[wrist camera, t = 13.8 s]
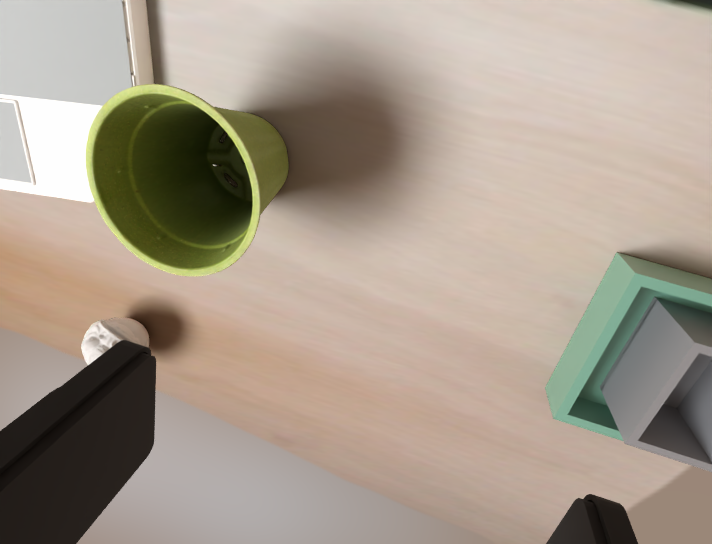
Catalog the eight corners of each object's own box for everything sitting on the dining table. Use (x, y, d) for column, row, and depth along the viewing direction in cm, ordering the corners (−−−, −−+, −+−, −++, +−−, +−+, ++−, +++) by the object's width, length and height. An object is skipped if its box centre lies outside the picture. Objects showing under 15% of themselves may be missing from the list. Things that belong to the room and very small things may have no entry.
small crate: (654, 296, 34) (694, 342, 28) (742, 321, 33) (802, 374, 27) (599, 386, 38) (625, 443, 32) (677, 411, 37) (717, 473, 31)
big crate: (616, 252, 34) (635, 273, 30) (804, 304, 33) (847, 332, 29) (545, 388, 40) (553, 418, 36) (701, 437, 38) (726, 474, 35)
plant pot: (191, 62, 35) (83, 56, 25) (331, 109, 34) (277, 122, 24) (177, 201, 40) (82, 242, 30) (298, 244, 39) (242, 302, 29)
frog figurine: (175, 324, 46) (130, 362, 40) (150, 364, 49) (105, 406, 43) (126, 288, 46) (73, 322, 39) (104, 332, 49) (52, 369, 42)
